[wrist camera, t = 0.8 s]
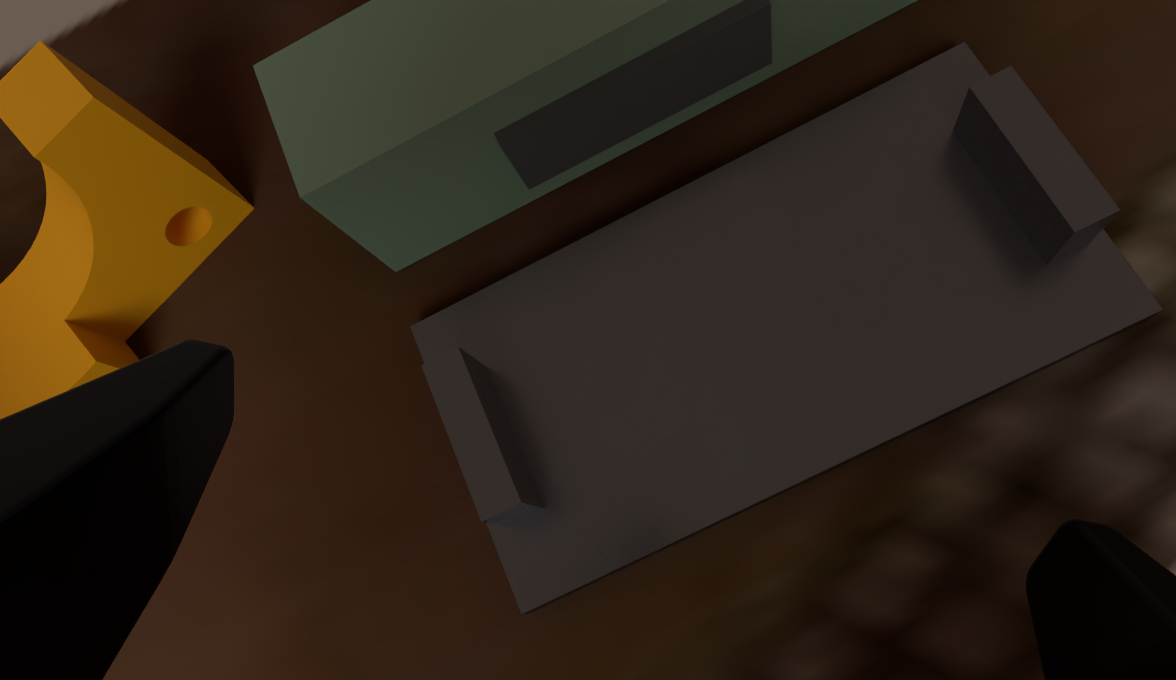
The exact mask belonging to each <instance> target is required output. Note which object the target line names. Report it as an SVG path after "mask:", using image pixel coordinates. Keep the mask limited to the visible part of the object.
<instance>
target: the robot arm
mask: <svg viewBox="0 0 1176 680" xmlns="http://www.w3.org/2000/svg"><path fill="white" fill-rule="evenodd" d="M233 416H234V360H233V355H232V352H231V351H230V350H229V349H228V348H227V347H225V346H221V345H216V344H212V343H207V342H202V341H197V340H187V341H184V342H181V343H178V344H176V345H174V346H171V347H169V348H167V349H164V350H162V351H160V352H157V353H155V354H153V355H150V356H148V357H146V358H143V359H141V360H138V361H136V362H134V363H131V364H129V365H127V366H124V367H122V368H120V369H117V370H115V371H113V372H110V373H108V374H106V375H103V376H101V377H99V378H96V379H94V380H92V381H89V382H87V383H85V384H82V385H80V386H77V387H75V388H73V389H70V390H68V391H66V392H63V393H61V394H59V395H56V396H54V397H52V398H49V399H47V400H45V401H42V402H40V403H38V404H35V405H33V406H31V407H28V408H26V409H24V410H21V411H19V412H16V413H14V414H12V415H9V416H7V417H5V418H2V419H0V680H102V679H103V678H104V676H105V674H106V673H107V671H108V669H109V668H110V666H111V664H112V662H113V661H114V659H115V657H116V656H117V654H118V652H119V651H120V649H121V647H122V646H123V644H124V642H125V641H126V639H127V637H128V636H129V634H130V632H131V631H132V629H133V627H134V626H135V624H136V622H137V620H138V619H139V617H140V615H141V614H142V612H143V610H144V609H145V607H146V605H147V604H148V602H149V600H150V599H151V597H152V595H153V594H154V592H155V590H156V589H157V587H158V585H159V584H160V582H161V580H162V578H163V576H164V575H165V573H166V571H167V569H168V567H169V566H170V564H171V562H172V560H173V558H174V556H175V554H176V552H177V550H178V547H179V545H180V543H181V541H182V539H183V537H184V534H185V532H186V530H187V528H188V525H189V523H190V521H191V519H192V516H193V514H194V512H195V510H196V507H197V505H198V503H199V501H200V498H201V496H202V494H203V492H204V489H205V487H206V485H207V482H208V480H209V478H210V476H211V473H212V471H213V469H214V467H215V464H216V462H217V460H218V458H219V455H220V453H221V451H222V449H223V446H224V444H225V442H226V440H227V437H228V435H229V432H230V429H231V426H232V422H233ZM1026 592H1027V597H1028V602H1029V607H1030V611H1031V616H1032V621H1033V625H1034V630H1035V635H1036V639H1037V644H1038V649H1039V654H1040V658H1041V663H1042V668H1043V672H1044V677H1045V680H1176V576H1175V575H1174V574H1173V573H1171V572H1170V571H1169V570H1167V569H1166V568H1165V567H1163V566H1162V565H1161V564H1159V563H1158V562H1157V561H1155V560H1154V559H1153V558H1151V557H1150V556H1149V555H1147V554H1146V553H1145V552H1144V551H1142V550H1141V549H1140V548H1138V547H1137V546H1136V545H1134V544H1133V543H1132V542H1130V541H1129V540H1128V539H1126V538H1125V537H1124V536H1122V535H1121V534H1120V533H1118V532H1117V531H1116V530H1114V529H1113V528H1111V527H1109V526H1106V525H1103V524H1098V523H1093V522H1088V521H1083V520H1078V519H1073V520H1068V521H1066V522H1065V523H1063V524H1062V525H1061V526H1060V527H1059V528H1058V529H1057V531H1056V532H1055V534H1054V535H1053V536H1052V538H1051V539H1050V540H1049V542H1048V543H1047V545H1046V546H1045V547H1044V549H1043V550H1042V551H1041V553H1040V554H1039V556H1038V557H1037V558H1036V560H1035V561H1034V562H1033V564H1032V565H1031V567H1030V569H1029V571H1028V574H1027V579H1026Z"/></svg>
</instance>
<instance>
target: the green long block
mask: <svg viewBox="0 0 1176 680" xmlns="http://www.w3.org/2000/svg"><path fill="white" fill-rule="evenodd" d="M916 1H917V0H371V1H369V2H367V3H365V4H363V5H362V6H360V7H358V8H356V9H354V10H353V11H351V12H349V13H347V14H345V15H344V16H342V17H340V18H338V19H336V20H334V21H333V22H331V23H329V24H327V25H325V26H324V27H322V28H320V29H318V30H316V31H315V32H313V33H311V34H309V35H307V36H306V37H304V38H302V39H300V40H298V41H297V42H295V43H293V44H291V45H289V46H287V47H286V48H284V49H282V50H280V51H278V52H277V53H275V54H273V55H271V56H269V57H268V58H266V59H264V60H262V61H260V62H259V63H257V64H255V65H253V67H254V70H255V73H256V76H257V79H258V81H259V84H260V87H261V90H262V93H263V95H264V98H265V101H266V104H267V107H268V109H269V112H270V115H271V118H272V121H273V123H274V126H275V129H276V132H277V135H278V137H279V140H280V143H281V146H282V149H283V151H284V154H285V157H286V160H287V163H288V165H289V168H290V171H291V174H292V177H293V179H294V182H295V185H296V188H297V191H298V193H299V196H300V198H301V199H302V200H304V201H305V202H306V203H307V204H309V205H310V206H311V207H313V208H314V209H315V210H316V211H318V212H319V213H320V214H322V215H323V216H324V217H325V218H327V219H328V220H329V221H331V222H332V223H333V224H334V225H336V226H337V227H338V228H340V229H341V230H342V231H343V232H345V233H346V234H347V235H349V236H350V237H351V238H352V239H354V240H355V241H356V242H358V243H359V244H360V245H361V246H363V247H364V248H365V249H367V250H368V251H369V252H370V253H372V254H373V255H374V256H376V257H377V258H378V259H379V260H381V261H382V262H383V263H385V264H386V265H387V266H388V267H390V268H391V269H392V270H394V271H395V272H397V271H399V270H401V269H403V268H405V267H407V266H408V265H410V264H412V263H414V262H416V261H418V260H420V259H422V258H424V257H426V256H428V255H430V254H432V253H433V252H435V251H437V250H439V249H441V248H443V247H445V246H447V245H449V244H451V243H453V242H455V241H456V240H458V239H460V238H462V237H464V236H466V235H468V234H470V233H472V232H474V231H476V230H478V229H480V228H481V227H483V226H485V225H487V224H489V223H491V222H493V221H495V220H497V219H499V218H501V217H503V216H504V215H506V214H508V213H510V212H512V211H514V210H516V209H518V208H520V207H522V206H524V205H526V204H528V203H529V202H531V201H533V200H535V199H537V198H539V197H541V196H543V195H545V194H547V193H549V192H551V191H553V190H554V189H556V188H558V187H560V186H562V185H564V184H566V183H568V182H570V181H572V180H574V179H576V178H577V177H579V176H581V175H583V174H585V173H587V172H589V171H591V170H593V169H595V168H597V167H599V166H601V165H602V164H604V163H606V162H608V161H610V160H612V159H614V158H616V157H618V156H620V155H622V154H624V153H626V152H627V151H629V150H631V149H633V148H635V147H637V146H639V145H641V144H643V143H645V142H647V141H649V140H650V139H652V138H654V137H656V136H658V135H660V134H662V133H664V132H666V131H668V130H670V129H672V128H674V127H675V126H677V125H679V124H681V123H683V122H685V121H687V120H689V119H691V118H693V117H695V116H697V115H699V114H700V113H702V112H704V111H706V110H708V109H710V108H712V107H714V106H716V105H718V104H720V103H722V102H723V101H725V100H727V99H729V98H731V97H733V96H735V95H737V94H739V93H741V92H743V91H745V90H747V89H748V88H750V87H752V86H754V85H756V84H758V83H760V82H762V81H764V80H766V79H768V78H770V77H772V76H773V75H775V74H777V73H779V72H781V71H783V70H785V69H787V68H789V67H791V66H793V65H795V64H796V63H798V62H800V61H802V60H804V59H806V58H808V57H810V56H812V55H814V54H816V53H818V52H820V51H821V50H823V49H825V48H827V47H829V46H831V45H833V44H835V43H837V42H839V41H841V40H843V39H845V38H846V37H848V36H850V35H852V34H854V33H856V32H858V31H860V30H862V29H864V28H866V27H868V26H869V25H871V24H873V23H875V22H877V21H879V20H881V19H883V18H885V17H887V16H889V15H891V14H893V13H894V12H896V11H898V10H900V9H902V8H904V7H906V6H908V5H910V4H912V3H914V2H916Z"/></svg>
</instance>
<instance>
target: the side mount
mask: <svg viewBox="0 0 1176 680" xmlns="http://www.w3.org/2000/svg"><path fill="white" fill-rule="evenodd" d="M1119 211H1120V209H1119V208H1118V206H1117V205H1116V204H1115V202H1114V201H1113V200H1112V198H1111V197H1110V196H1109V194H1108V193H1107V192H1106V190H1105V189H1104V188H1103V187H1102V185H1101V184H1100V183H1099V181H1098V180H1097V179H1096V177H1095V176H1094V175H1093V173H1092V172H1091V171H1090V169H1089V168H1088V167H1087V165H1086V164H1085V163H1084V161H1083V160H1082V159H1081V157H1080V156H1079V155H1078V153H1077V152H1076V151H1075V149H1074V148H1073V147H1072V145H1071V144H1070V143H1069V141H1068V140H1067V139H1066V137H1065V136H1064V135H1063V133H1062V132H1061V131H1060V130H1059V128H1058V127H1057V126H1056V124H1055V123H1054V122H1053V120H1052V119H1051V118H1050V116H1049V115H1048V114H1047V112H1046V111H1045V110H1044V108H1043V107H1042V106H1041V104H1040V103H1039V102H1038V100H1037V99H1036V98H1035V96H1034V95H1033V94H1032V92H1031V91H1030V90H1029V88H1028V87H1027V86H1026V84H1025V83H1024V82H1023V80H1022V79H1021V78H1020V77H1019V75H1018V74H1017V73H1016V71H1015V70H1014V69H1013V67H1012V66H1009V67H1007V68H1005V69H1003V70H1001V71H999V72H997V73H995V74H993V75H991V76H990V75H989V74H988V72H987V71H986V70H985V68H984V67H983V66H982V64H981V63H980V62H979V60H978V59H977V57H976V56H975V55H974V53H973V52H972V51H971V49H970V48H969V47H968V45H967V44H966V43H965V42H963V43H961V44H959V45H957V46H955V47H953V48H951V49H950V50H948V51H946V52H944V53H942V54H940V55H938V56H936V57H934V58H932V59H930V60H928V61H926V62H924V63H922V64H920V65H918V66H916V67H914V68H913V69H911V70H909V71H907V72H905V73H903V74H901V75H899V76H897V77H895V78H893V79H891V80H889V81H887V82H885V83H883V84H881V85H879V86H877V87H876V88H874V89H872V90H870V91H868V92H866V93H864V94H862V95H860V96H858V97H856V98H854V99H852V100H850V101H848V102H846V103H844V104H842V105H840V106H839V107H837V108H835V109H833V110H831V111H829V112H827V113H825V114H823V115H821V116H819V117H817V118H815V119H813V120H811V121H809V122H807V123H805V124H803V125H802V126H800V127H798V128H796V129H794V130H792V131H790V132H788V133H786V134H784V135H782V136H780V137H778V138H776V139H774V140H772V141H770V142H768V143H766V144H765V145H763V146H761V147H759V148H757V149H755V150H753V151H751V152H749V153H747V154H745V155H743V156H741V157H739V158H737V159H735V160H733V161H731V162H730V163H728V164H726V165H724V166H722V167H720V168H718V169H716V170H714V171H712V172H710V173H708V174H706V175H704V176H702V177H700V178H698V179H696V180H694V181H693V182H691V183H689V184H687V185H685V186H683V187H681V188H679V189H677V190H675V191H673V192H671V193H669V194H667V195H665V196H663V197H661V198H659V199H657V200H656V201H654V202H652V203H650V204H648V205H646V206H644V207H642V208H640V209H638V210H636V211H634V212H632V213H630V214H628V215H626V216H624V217H622V218H620V219H619V220H617V221H615V222H613V223H611V224H609V225H607V226H605V227H603V228H601V229H599V230H597V231H595V232H593V233H591V234H589V235H587V236H585V237H583V238H582V239H580V240H578V241H576V242H574V243H572V244H570V245H568V246H566V247H564V248H562V249H560V250H558V251H556V252H554V253H552V254H550V255H548V256H546V257H545V258H543V259H541V260H539V261H537V262H535V263H533V264H531V265H529V266H527V267H525V268H523V269H521V270H519V271H517V272H515V273H513V274H511V275H509V276H508V277H506V278H504V279H502V280H500V281H498V282H496V283H494V284H492V285H490V286H488V287H486V288H484V289H482V290H480V291H478V292H476V293H474V294H472V295H471V296H469V297H467V298H465V299H463V300H461V301H459V302H457V303H455V304H453V305H451V306H449V307H447V308H445V309H443V310H441V311H439V312H437V313H436V314H434V315H432V316H430V317H428V318H426V319H424V320H422V321H420V322H418V323H416V324H414V325H412V326H410V327H411V330H412V333H413V335H414V338H415V340H416V343H417V346H418V348H419V351H420V353H421V356H422V359H423V361H424V364H423V365H421V366H422V369H423V372H424V374H425V377H426V379H427V382H428V385H429V387H430V390H431V392H432V395H433V398H434V400H435V403H436V405H437V408H438V411H439V413H440V416H441V418H442V421H443V424H444V426H445V429H446V431H447V434H448V437H449V439H450V442H451V444H452V447H453V450H454V452H455V455H456V457H457V460H458V463H459V465H460V468H461V470H462V473H463V476H464V478H465V481H466V483H467V486H468V489H469V491H470V494H471V496H472V499H473V502H474V504H475V507H476V509H477V512H478V515H479V517H480V520H481V522H485V523H486V524H487V527H488V529H489V532H490V534H491V537H492V539H493V542H494V545H495V547H496V550H497V552H498V555H499V558H500V560H501V563H502V565H503V568H504V570H505V573H506V576H507V578H508V581H509V583H510V586H511V589H512V591H513V594H514V596H515V599H516V602H517V604H518V607H519V609H520V612H521V614H527V613H530V612H533V611H535V610H537V609H539V608H541V607H543V606H545V605H547V604H549V603H551V602H554V601H556V600H558V599H560V598H562V597H564V596H566V595H568V594H570V593H573V592H575V591H577V590H579V589H581V588H583V587H585V586H587V585H589V584H591V583H594V582H596V581H598V580H600V579H602V578H604V577H606V576H608V575H610V574H613V573H615V572H617V571H619V570H621V569H623V568H625V567H627V566H629V565H631V564H634V563H636V562H638V561H640V560H642V559H644V558H646V557H648V556H650V555H653V554H655V553H657V552H659V551H661V550H663V549H665V548H667V547H669V546H671V545H674V544H676V543H678V542H680V541H682V540H684V539H686V538H688V537H690V536H693V535H695V534H697V533H699V532H701V531H703V530H705V529H707V528H709V527H711V526H714V525H716V524H718V523H720V522H722V521H724V520H726V519H728V518H730V517H733V516H735V515H737V514H739V513H741V512H743V511H745V510H747V509H749V508H752V507H754V506H756V505H758V504H760V503H762V502H764V501H766V500H768V499H770V498H773V497H775V496H777V495H779V494H781V493H783V492H785V491H787V490H789V489H792V488H794V487H796V486H798V485H800V484H802V483H804V482H806V481H808V480H810V479H813V478H815V477H817V476H819V475H821V474H823V473H825V472H827V471H829V470H832V469H834V468H836V467H838V466H840V465H842V464H844V463H846V462H848V461H850V460H853V459H855V458H857V457H859V456H861V455H863V454H865V453H867V452H869V451H872V450H874V449H876V448H878V447H880V446H882V445H884V444H886V443H888V442H890V441H893V440H895V439H897V438H899V437H901V436H903V435H905V434H907V433H909V432H912V431H914V430H916V429H918V428H920V427H922V426H924V425H926V424H928V423H930V422H933V421H935V420H937V419H939V418H941V417H943V416H945V415H947V414H949V413H952V412H954V411H956V410H958V409H960V408H962V407H964V406H966V405H968V404H970V403H973V402H975V401H977V400H979V399H981V398H983V397H985V396H987V395H989V394H992V393H994V392H996V391H998V390H1000V389H1002V388H1004V387H1006V386H1008V385H1010V384H1013V383H1015V382H1017V381H1019V380H1021V379H1023V378H1025V377H1027V376H1029V375H1032V374H1034V373H1036V372H1038V371H1040V370H1042V369H1044V368H1046V367H1048V366H1050V365H1053V364H1055V363H1057V362H1059V361H1061V360H1063V359H1065V358H1067V357H1069V356H1072V355H1074V354H1076V353H1078V352H1080V351H1082V350H1084V349H1086V348H1088V347H1091V346H1093V345H1095V344H1097V343H1099V342H1101V341H1103V340H1105V339H1107V338H1109V337H1112V336H1114V335H1116V334H1118V333H1120V332H1122V331H1124V330H1126V329H1128V328H1131V327H1133V326H1135V325H1137V324H1139V323H1141V322H1143V321H1145V320H1147V319H1149V318H1152V317H1153V316H1155V315H1156V314H1157V313H1159V312H1160V311H1162V310H1163V309H1162V308H1161V306H1160V305H1159V304H1158V302H1157V301H1156V299H1155V298H1154V297H1153V295H1152V294H1151V293H1150V291H1149V290H1148V289H1147V287H1146V286H1145V285H1144V283H1143V282H1142V281H1141V279H1140V278H1139V277H1138V275H1137V274H1136V272H1135V271H1134V270H1133V268H1132V267H1131V266H1130V264H1129V263H1128V262H1127V260H1126V259H1125V258H1124V256H1123V255H1122V254H1121V252H1120V251H1119V249H1118V248H1117V247H1116V245H1115V244H1114V243H1113V241H1112V240H1111V239H1110V237H1109V236H1108V235H1107V233H1106V232H1105V231H1104V227H1105V226H1106V225H1107V224H1108V223H1109V222H1110V221H1111V220H1112V219H1113V218H1114V217H1115V216H1116V214H1117V213H1118V212H1119Z"/></svg>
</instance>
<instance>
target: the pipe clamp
mask: <svg viewBox="0 0 1176 680" xmlns="http://www.w3.org/2000/svg"><path fill="white" fill-rule="evenodd" d="M0 118H1V119H2V120H3V121H4V122H5V124H6V125H7V126H8V127H9V128H10V129H11V131H12V132H13V133H14V134H15V135H16V137H17V138H18V139H19V140H20V141H21V142H22V144H23V145H24V146H25V147H26V148H27V149H28V151H29V152H30V153H31V154H32V155H33V156H34V158H36V159H38V160H39V161H41V164H42V167H43V170H44V175H45V180H46V191H47V198H46V209H45V213H44V218H43V222H42V225H41V227H40V230H39V233H38V235H37V237H36V239H35V241H34V243H33V245H32V247H31V248H30V250H29V251H28V253H27V254H26V256H25V258H24V259H23V260H22V261H21V263H20V264H19V265H18V266H17V268H16V269H15V270H14V271H13V272H12V273H11V274H10V275H9V276H8V277H7V278H6V279H5V280H4V281H3V282H2V283H1V284H0V419H2V418H5V417H7V416H9V415H12V414H14V413H16V412H19V411H21V410H24V409H26V408H28V407H31V406H33V405H35V404H38V403H40V402H42V401H45V400H47V399H49V398H52V397H54V396H56V395H59V394H61V393H63V392H66V391H68V390H70V389H73V388H75V387H77V386H80V385H82V384H85V383H87V382H89V381H92V380H94V379H96V378H99V377H101V376H103V375H106V374H108V373H110V372H113V371H115V370H117V369H120V368H122V367H124V366H127V365H129V364H131V363H134V362H136V361H138V360H139V358H138V357H137V356H136V355H135V354H134V352H133V351H132V350H131V349H130V347H129V346H128V345H127V344H126V342H125V341H126V340H127V339H128V338H129V337H130V336H131V335H132V334H133V333H134V332H135V331H136V330H137V329H138V328H139V327H140V326H141V325H142V324H143V323H144V322H145V321H146V320H147V319H148V318H149V317H150V316H151V315H152V314H153V313H154V311H155V310H156V309H157V308H158V307H159V306H160V305H161V304H162V303H163V302H164V301H165V300H166V299H167V298H168V297H169V296H170V295H171V294H172V293H173V292H174V291H175V290H176V289H177V288H178V287H179V286H180V285H181V284H182V283H183V282H184V280H185V279H186V278H187V277H188V276H189V275H190V274H191V273H192V272H193V271H194V270H195V269H196V268H197V267H198V266H199V265H200V264H201V263H202V262H203V261H204V260H205V259H206V258H207V257H208V256H209V255H210V254H211V253H212V252H213V250H214V249H215V248H216V247H217V246H218V245H219V244H220V243H221V242H222V241H223V240H224V239H225V238H226V237H227V236H228V235H229V234H230V233H231V232H232V231H233V230H234V229H235V228H236V227H237V226H238V225H239V224H240V223H241V222H242V221H243V219H244V218H245V217H246V216H247V215H248V214H249V213H250V212H251V211H252V210H253V209H254V207H253V206H252V205H251V204H250V203H249V202H248V201H247V200H246V199H245V198H244V197H243V196H242V195H241V194H240V193H239V192H238V191H237V190H236V189H235V188H234V187H233V186H232V185H231V184H230V183H229V182H228V181H227V180H226V179H225V177H224V176H223V175H222V174H221V173H220V172H219V171H218V170H217V169H216V168H215V167H214V166H213V165H212V164H211V163H210V162H209V161H208V160H207V159H205V158H204V157H202V156H201V155H200V154H198V153H197V152H195V151H194V150H193V149H191V148H190V147H188V146H187V145H186V144H184V143H183V142H181V141H180V140H179V139H177V138H176V137H175V136H173V135H172V134H170V133H169V132H168V131H166V130H165V129H163V128H162V127H161V126H159V125H158V124H156V123H155V122H154V121H152V120H151V119H149V118H148V117H147V116H145V115H144V114H142V113H141V112H140V111H138V110H137V109H135V108H134V107H133V106H131V105H130V104H128V103H127V102H126V101H124V100H123V99H122V98H120V97H119V96H117V95H116V94H115V93H113V92H112V91H110V90H109V89H108V88H106V87H105V86H103V85H102V84H101V83H99V82H98V81H96V80H95V79H94V78H92V77H91V76H89V75H88V74H87V73H85V72H84V71H82V70H81V69H80V68H78V67H77V66H75V65H74V64H73V63H71V62H70V61H69V60H67V59H66V58H64V57H63V56H62V55H60V54H59V53H57V52H56V51H55V50H53V49H52V48H50V47H49V46H48V45H46V44H45V43H43V42H42V41H41V40H40V41H39V42H38V43H37V44H36V45H35V46H34V47H33V48H32V49H31V50H30V51H29V52H28V53H27V54H26V55H25V56H24V57H23V58H22V59H21V60H20V61H19V62H18V63H17V64H16V65H15V66H14V67H13V68H12V69H11V71H10V72H9V73H8V74H7V75H6V76H5V77H4V78H3V79H2V80H1V81H0Z"/></svg>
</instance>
